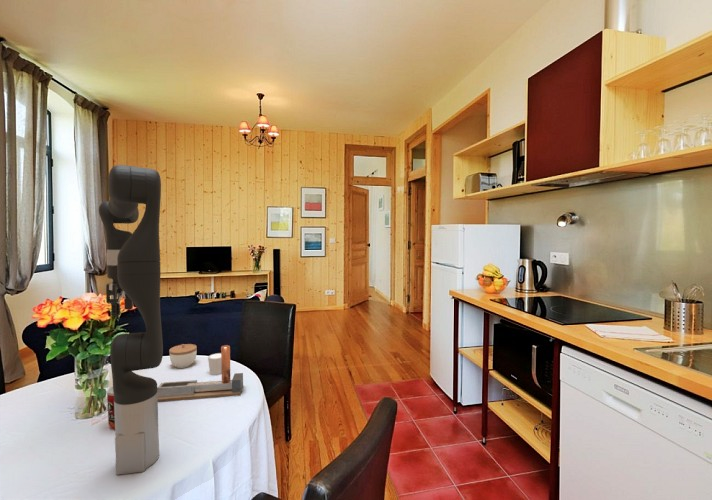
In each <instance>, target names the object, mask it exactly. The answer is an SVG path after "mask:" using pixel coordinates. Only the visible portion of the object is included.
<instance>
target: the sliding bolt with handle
mask: <svg viewBox="0 0 712 500" xmlns="http://www.w3.org/2000/svg"><path fill="white" fill-rule="evenodd" d="M220 351H221V352H220V353H221V370H222V374H221V380H216V381H215V380H213V381H212V380H211V381H200V382H199V381H197V383H188V384H187V385H194V392H202V391H215V390H228V389H232V379H231V346H230V345H228V344H224V345H221V346H220Z"/></svg>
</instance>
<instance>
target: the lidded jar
mask: <svg viewBox="0 0 712 500" xmlns="http://www.w3.org/2000/svg"><path fill="white" fill-rule="evenodd" d="M168 352H169V358H170V362H171V364H172V365H173V366H175V368H176V369H185V368H189V367H191V366H192V364H193V363H194V362H195V360H196V358H197V345H196V344H192V343H187V344H186V343H185V344H184V343H181V344H178V345H175V346H173V347H171V348H170V349H169V350H168Z"/></svg>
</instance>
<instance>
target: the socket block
mask: <svg viewBox="0 0 712 500" xmlns="http://www.w3.org/2000/svg"><path fill="white" fill-rule="evenodd" d="M231 380H232V393H236V392H241V390H242V391H243V389H242V387H243V388H244V372H239V373H234V374H233V377H232V379H231ZM241 393H242V392H241Z"/></svg>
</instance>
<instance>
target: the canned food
mask: <svg viewBox="0 0 712 500" xmlns="http://www.w3.org/2000/svg"><path fill="white" fill-rule="evenodd" d="M106 397H107V420H108V421H107V422H108V426H109V428H110V429H113V430H115V414H114V413H115V412H114V392H113V386H111V387H110V388H108V389H107V396H106Z"/></svg>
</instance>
